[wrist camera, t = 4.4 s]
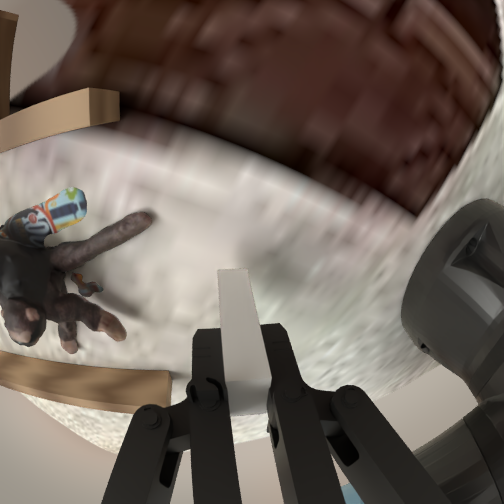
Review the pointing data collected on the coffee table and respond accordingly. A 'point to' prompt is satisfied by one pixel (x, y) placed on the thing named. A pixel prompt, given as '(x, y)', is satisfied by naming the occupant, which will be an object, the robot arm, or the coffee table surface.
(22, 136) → the wooden rail pieces
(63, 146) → the coffee table surface
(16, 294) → the stuffed animal
